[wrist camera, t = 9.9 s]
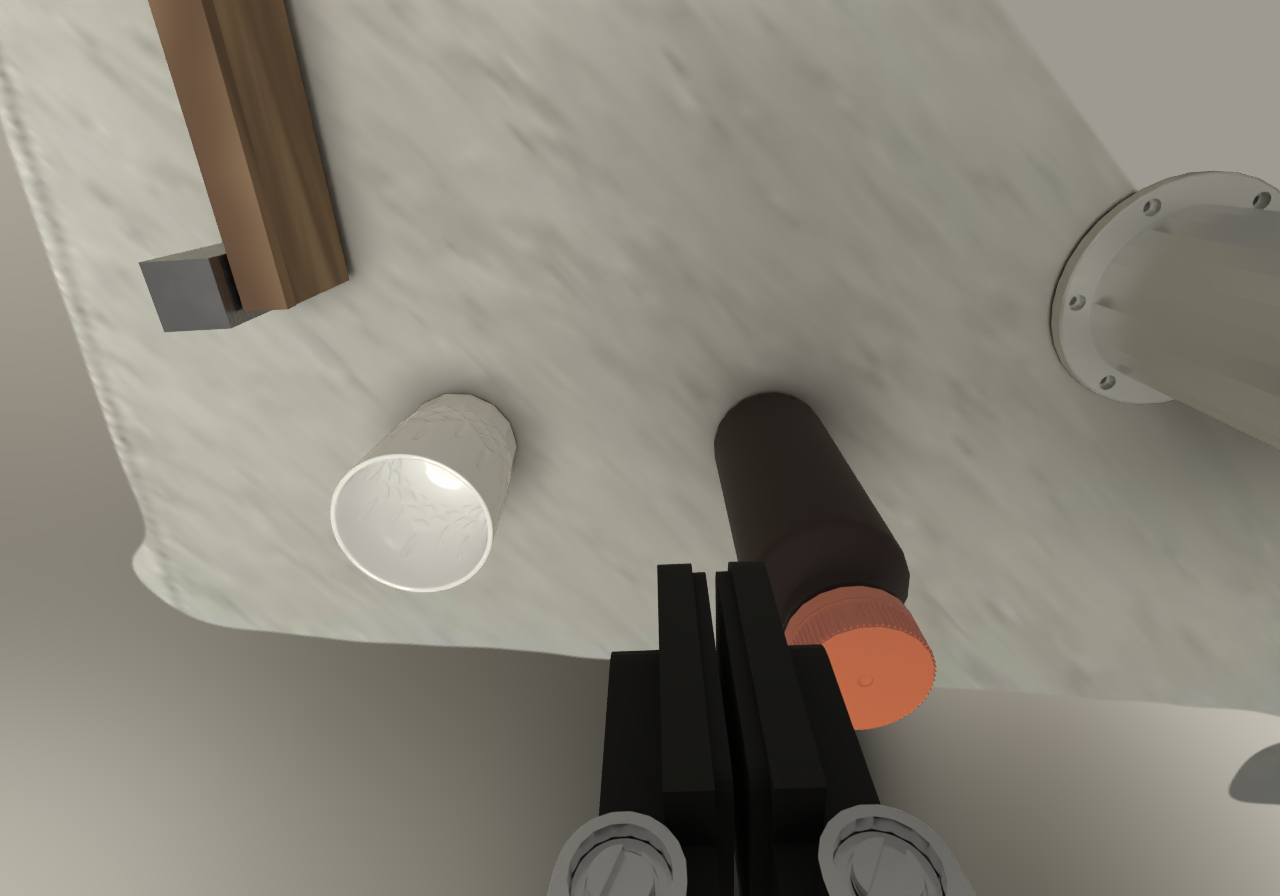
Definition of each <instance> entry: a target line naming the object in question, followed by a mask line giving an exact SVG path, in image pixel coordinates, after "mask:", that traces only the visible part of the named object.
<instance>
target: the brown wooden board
mask: <svg viewBox="0 0 1280 896" xmlns="http://www.w3.org/2000/svg"><path fill="white" fill-rule="evenodd" d="M148 2H149V5H150V8H151V11H152V15H153V18H154V21H155V24H156V28H157V31H158V34H159V37H160V41H161V44H162V47H163V50H164V53H165V57H166V60H167V63H168V66H169V70H170V73H171V76H172V79H173V83H174V86H175V89H176V92H177V96H178V99H179V102H180V105H181V109H182V112H183V115H184V118H185V122H186V125H187V128H188V131H189V134H190V138H191V141H192V144H193V147H194V151H195V154H196V157H197V160H198V164H199V167H200V170H201V173H202V177H203V180H204V183H205V186H206V190H207V193H208V196H209V199H210V203H211V206H212V209H213V212H214V216H215V219H216V222H217V225H218V228H219V232H220V235H221V238H222V241H223V245H224V248H225V251H226V254H227V258H228V261H229V264H230V267H231V271H232V274H233V277H234V280H235V284H236V287H237V290H238V293H239V297H240V300H241V303H242V306H243V309H244V311H261V310H280V309H289V308H291V307H293V306H295V305H296V304H298V303H300V302H302V301H304V300H307V299H309V298H311V297H313V296H315V295H318V294H320V293H322V292H324V291H326V290H328V289H331V288H333V287H335V286H337V285H339V284H341V283H344V282H346V281H348V280H349V277H348V273H347V268H346V264H345V260H344V256H343V251H342V247H341V243H340V239H339V234H338V230H337V226H336V222H335V217H334V213H333V209H332V205H331V200H330V196H329V192H328V188H327V184H326V179H325V175H324V171H323V167H322V162H321V158H320V154H319V150H318V145H317V141H316V137H315V133H314V128H313V124H312V120H311V116H310V111H309V107H308V103H307V99H306V95H305V90H304V86H303V82H302V78H301V73H300V69H299V65H298V61H297V56H296V52H295V48H294V44H293V39H292V35H291V31H290V27H289V22H288V18H287V14H286V10H285V6H284V1H283V0H148Z"/></svg>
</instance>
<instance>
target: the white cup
mask: <svg viewBox="0 0 1280 896" xmlns="http://www.w3.org/2000/svg"><path fill="white" fill-rule="evenodd" d="M516 447H517V444H516V441H515V438H514V435H513V431H512V428H511V425H510V423H509V422H508V421H507V419H506V418H505V417H504V416H503V415H502V414H501V413H500V412H499V411H498V409H497V408H496V407H495V406H494V405H492V404H490V403H488V402H486V401H484V400H481V399H479V398H477V397H475V396H473V395H470V394H443V395H441V396H439V397H437V398H434V399H432V400H430V401H428V402H426V403H424V404H422V405H421V406H420V407H419V408H418V409H417V410H416V411H415V412H414V413H413V414H412V415H411V416H409V417H408V418H406V419H405V420H404V421H402V422H401V423H400V424H399V425H398V426H397V427H396V428H395V429H394V430H392V431H391V432H390V433H389V434H388V435H386V436H385V437H384V438H383V439H382V440H381V441H380V442H379V443H378V444H377V445H376V446H375V447H374V448H373V449H372V450H371V451H370V452H369V453H368V454H367V455H366V456H365V457H364V458H362V459H361V460H360V461H359V462H358V463H357V464H356V465H355V466H354V467H353V468H352V469H351V470H350V471H349V472H348V473H347V474H346V475H345V476H344V477H343V478H342V479H341V481H340V482H339V484H338V485H337V487H336V489H335V491H334V494H333V497H332V501H331V508H330V518H331V525H332V529H333V532H334V535H335V538H336V540H337V542H338V544H339V546H340V547H341V549H342V550H343V552H344V553H345V555H346V556H347V557H348V558H349V559H350V561H351V562H352V563H353V564H354V565H355V566H357V567H358V568H359V569H360V570H361V571H363V572H364V573H365V574H367V575H368V576H370V577H371V578H373V579H375V580H377V581H379V582H381V583H383V584H385V585H388V586H391V587H393V588H397V589H401V590H405V591H412V592H435V591H441V590H446V589H449V588H452V587H455V586H457V585H459V584H461V583H463V582H465V581H466V580H468V579H469V578H471V577H472V576H473V575H474V574H475V573H476V572H477V571H478V570H479V569H480V568H481V567H482V566H483V564H484V563H485V561H486V559H487V557H488V555H489V553H490V550H491V546H492V543H493V540H494V536H495V533H496V530H497V526H498V523H499V520H500V517H501V513H502V510H503V507H504V504H505V499H506V495H507V491H508V487H509V483H510V480H511V471H512V467H513V462H514V457H515V452H516Z"/></svg>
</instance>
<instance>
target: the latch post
mask: <svg viewBox="0 0 1280 896" xmlns="http://www.w3.org/2000/svg"><path fill="white" fill-rule="evenodd" d="M139 265H140V267H141V270H142V273H143V275H144V278H145V281H146V284H147V286H148V289H149V292H150V294H151V297H152V300H153V302H154V305H155V308H156V311H157V313H158V316H159V319H160V321H161V324H162V327H163V329H164V332H175V331H193V330H210V329H227V328H233V327H235V326H237V325H239V324H242V323H244V322H246V321H248V320H251V319H253V318H255V317H257V316H260V315H262V314H264V313H266V312H269V311H271V310H261V311H244V309H243V306H242V303H241V300H240V297H239V293H238V290H237V287H236V284H235V280H234V277H233V274H232V271H231V267H230V264H229V261H228V258H227V254H226V251H225V248H224V245H223V243H220V244H216V245H211V246H207V247H203V248H199V249H194V250H190V251H186V252H182V253H177V254H173V255H169V256H165V257H160V258H156V259H152V260H148V261H143V262H139Z"/></svg>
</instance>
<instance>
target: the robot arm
mask: <svg viewBox="0 0 1280 896" xmlns="http://www.w3.org/2000/svg"><path fill="white" fill-rule="evenodd" d="M1070 300H1071V301H1070ZM1051 328H1052V335H1053V341H1054V346H1055V349H1056V351H1057V353H1058V356H1059V358H1060V361H1061V363H1062V364H1063V365H1064V367H1065V368H1066V369H1067V371H1068V372H1069V373H1070V375H1071V376H1072V377H1073V378H1075V379H1076V380H1077V381H1078V382H1079V383H1081V384H1082V385H1083V386H1084V387H1086V388H1088V389H1089V390H1091V391H1093V392H1095V393H1097V394H1098V395H1100V396H1103V397H1106V398H1109V399H1112V400H1114V401H1117V402H1123V403H1131V404H1157V403H1163V402H1168V401H1172V400H1177V401H1179V402H1181V403H1183V404H1185V405H1187V406H1189V407H1192V408H1194V409H1196V410H1198V411H1200V412H1202V413H1204V414H1206V415H1208V416H1210V417H1212V418H1214V419H1216V420H1218V421H1221V422H1223V423H1225V424H1227V425H1229V426H1231V427H1233V428H1235V429H1237V430H1239V431H1241V432H1243V433H1245V434H1247V435H1250V436H1252V437H1254V438H1256V439H1258V440H1260V441H1262V442H1264V443H1266V444H1268V445H1270V446H1272V447H1274V448H1276V449H1279V450H1280V191H1279V190H1278V189H1277V188H1275V187H1273V186H1272V185H1270V184H1268V183H1266V182H1264V181H1263V180H1261V179H1259V178H1256V177H1252V176H1248V175H1245V174H1241V173H1234V172H1221V171H1208V172H1192V173H1187V174H1183V175H1179V176H1175V177H1171V178H1167V179H1164V180H1162V181H1160V182H1157V183H1155V184H1153V185H1150V186H1148V187H1146V188H1144V189H1142V190H1140V191H1138V192H1137V193H1135V194H1133V195H1132V196H1130V197H1129V198H1127V199H1126V200H1124V201H1122V202H1121V203H1119V204H1118V205H1117V206H1116V207H1115V208H1113V209H1112V210H1111V211H1110V212H1109V213H1107V214H1106V215H1105V216H1104V217H1103V218H1102V219H1100V220H1099V221H1098V222H1097V223H1096V225H1095V226H1094V227H1093V228H1092V229H1091V230H1090V231H1089V233H1088V234H1087V235H1086V236H1085V237H1084V238H1083V239H1082V241H1081V242H1080V244H1079V245H1078V247H1077V248H1076V250H1075V251H1074V253H1073V254H1072V256H1071V257H1070V259H1069V261H1068V262H1067V264H1066V267H1065V269H1064V271H1063V273H1062V276H1061V278H1060V280H1059V282H1058V285H1057V289H1056V293H1055V297H1054V301H1053V305H1052V320H1051ZM657 573H658V617H659V650H647V651H620V652H612V653H611V659H610V671H609V685H608V698H607V712H606V726H605V740H604V753H603V767H602V781H601V795H600V808H599V817H596V818H593V819H592V820H590V821H589V822H587V823H586V824H585V825H583V826H582V827H580V828H579V829H577V830H576V831H575V833H574V834H573V835H572V836H571V837H570V839H569V840H568V841H567V842H566V843H565V845H564V846H563V848H562V851H561V853H560V855H559V857H558V860H557V862H556V864H555V867H554V871H553V875H552V878H551V882H550V885H549V889H548V893H547V896H734V854H735V862H736V870H737V878H738V887H739V895H740V896H977V895H976V893H975V892H974V890H973V888H972V887H971V885H970V883H969V882H968V880H967V878H966V876H965V875H964V873H963V871H962V869H961V868H960V866H959V864H958V863H957V861H956V859H955V858H954V856H953V854H952V853H951V852H950V850H949V849H948V848H947V846H946V845H945V844H944V842H943V841H942V840H941V838H940V837H939V836H938V835H937V834H936V833H935V832H933V831H932V830H931V829H930V828H929V827H927V826H926V825H925V824H924V823H923V822H921V821H920V820H919V819H917V818H914V817H913V816H911V815H909V814H907V813H905V812H903V811H901V810H899V809H895V808H891V807H887V806H883V805H881V804H880V801H879V799H878V796H877V793H876V790H875V787H874V785H873V782H872V779H871V776H870V773H869V770H868V768H867V765H866V762H865V759H864V756H863V753H862V751H861V748H860V745H859V742H858V739H857V736H856V734H855V730H854V728H853V725H852V722H851V719H850V716H849V713H848V711H847V708H846V705H845V702H844V699H843V696H842V694H841V691H840V688H839V685H838V682H837V679H836V677H835V674H834V671H833V668H832V665H831V662H830V659H829V657H828V654H827V652H826V650H825V648H824V646H823V645H822V644H810V645H788V644H787V641H786V637H785V633H784V630H783V626H782V623H781V619H780V616H779V612H778V608H777V605H776V601H775V598H774V594H773V590H772V587H771V583H770V580H769V576H768V573H767V569H766V565H765V563H764V561H739V562H729V563H728V571H721V572H716V577H715V582H716V647H715V640H714V632H713V625H712V617H711V610H710V603H709V595H708V588H707V580H706V574H705V572H697V573H692V566H691V564H667V565H657Z"/></svg>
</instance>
